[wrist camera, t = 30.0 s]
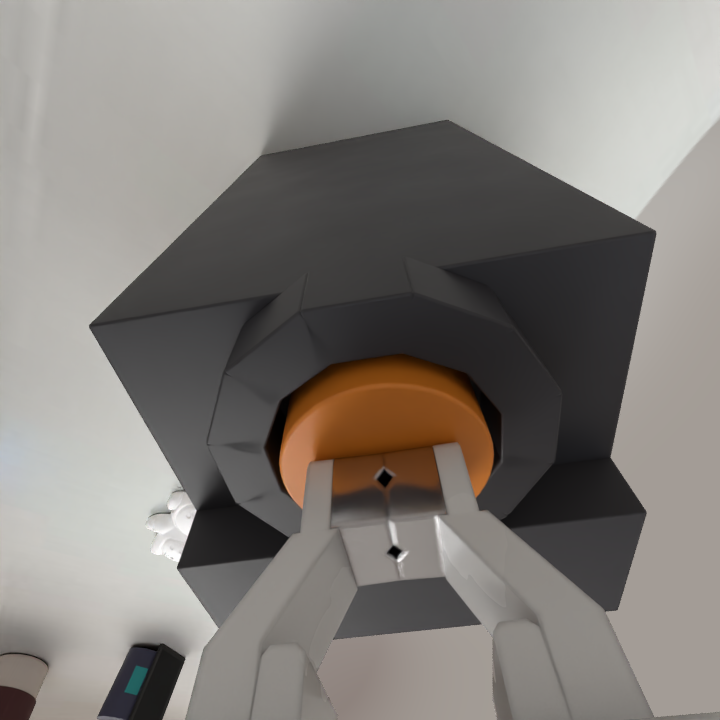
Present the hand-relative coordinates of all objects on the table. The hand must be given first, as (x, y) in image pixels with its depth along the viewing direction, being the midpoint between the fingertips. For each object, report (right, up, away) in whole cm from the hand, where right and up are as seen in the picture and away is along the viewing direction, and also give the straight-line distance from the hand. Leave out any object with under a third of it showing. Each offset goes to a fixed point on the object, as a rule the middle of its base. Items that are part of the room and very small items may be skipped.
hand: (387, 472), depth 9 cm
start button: (0, +1, +2) cm, 2 cm away
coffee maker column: (0, +14, +20) cm, 24 cm away
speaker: (-31, -41, +56) cm, 76 cm away
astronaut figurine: (-19, -15, +40) cm, 46 cm away
